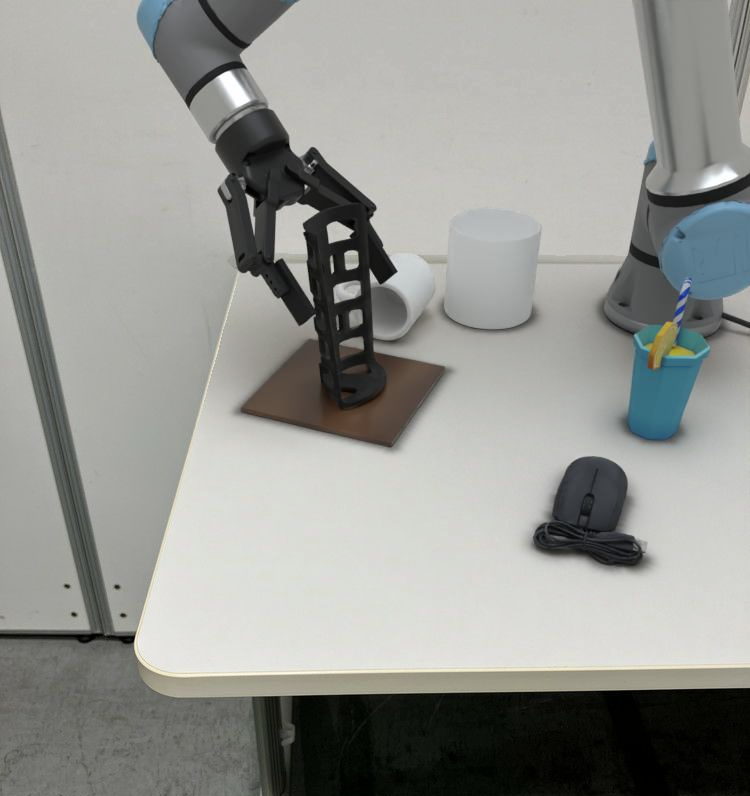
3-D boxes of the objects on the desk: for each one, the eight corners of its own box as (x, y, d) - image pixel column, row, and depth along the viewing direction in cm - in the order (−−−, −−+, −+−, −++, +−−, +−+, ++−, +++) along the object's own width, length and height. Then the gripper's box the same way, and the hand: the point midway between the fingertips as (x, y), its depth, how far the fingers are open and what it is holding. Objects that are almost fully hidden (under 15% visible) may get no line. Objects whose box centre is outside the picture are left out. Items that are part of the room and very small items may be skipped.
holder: (375, 413, 101) (358, 235, 90) (309, 411, 103) (284, 236, 91) (394, 366, 110) (381, 199, 98) (333, 365, 112) (313, 200, 100)
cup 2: (627, 386, 108) (653, 266, 99) (695, 400, 106) (727, 278, 97) (606, 447, 98) (632, 319, 89) (680, 464, 96) (715, 334, 87)
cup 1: (548, 318, 123) (560, 231, 115) (475, 337, 118) (483, 247, 111) (497, 285, 131) (506, 202, 123) (427, 302, 126) (432, 216, 119)
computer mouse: (648, 479, 94) (655, 448, 91) (643, 571, 82) (651, 538, 80) (548, 463, 96) (553, 432, 93) (530, 551, 84) (535, 518, 82)
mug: (434, 313, 123) (438, 256, 118) (411, 346, 116) (413, 286, 111) (351, 299, 126) (351, 243, 122) (323, 330, 119) (322, 271, 114)
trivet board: (444, 370, 111) (445, 366, 111) (391, 447, 98) (391, 442, 97) (309, 342, 116) (309, 338, 116) (240, 411, 103) (240, 407, 102)
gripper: (303, 124, 109) (400, 278, 110) (136, 175, 93) (252, 354, 95) (337, 83, 103) (438, 247, 104) (165, 131, 87) (288, 322, 89)
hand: (350, 298), depth 100 cm, fingers open, 13 cm apart
